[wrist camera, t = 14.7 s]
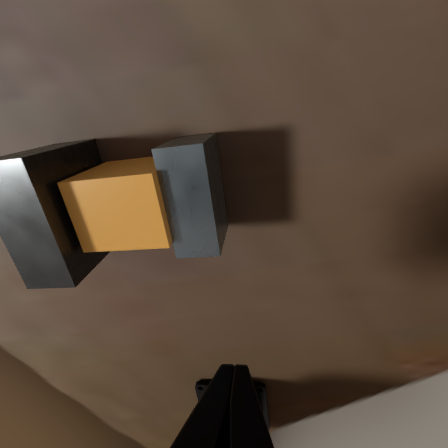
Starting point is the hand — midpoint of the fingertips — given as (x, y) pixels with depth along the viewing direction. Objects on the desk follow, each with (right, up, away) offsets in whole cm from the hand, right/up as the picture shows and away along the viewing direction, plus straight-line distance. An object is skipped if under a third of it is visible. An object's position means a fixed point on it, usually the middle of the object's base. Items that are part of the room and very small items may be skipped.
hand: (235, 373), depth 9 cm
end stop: (-10, +7, +10) cm, 16 cm away
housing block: (-5, +7, +10) cm, 13 cm away
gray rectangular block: (-2, +7, +9) cm, 12 cm away
